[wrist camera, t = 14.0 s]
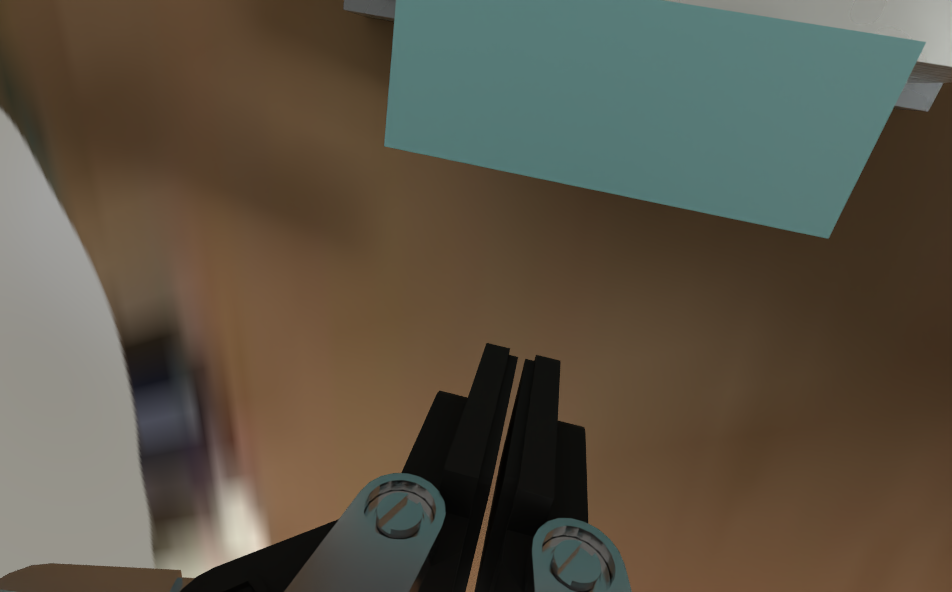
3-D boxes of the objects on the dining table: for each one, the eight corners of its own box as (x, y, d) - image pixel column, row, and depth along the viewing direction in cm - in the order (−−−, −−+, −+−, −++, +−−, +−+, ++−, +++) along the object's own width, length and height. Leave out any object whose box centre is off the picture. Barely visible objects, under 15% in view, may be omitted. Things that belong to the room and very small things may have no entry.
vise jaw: (975, -63, 11) (1371, -215, 5) (845, 201, 13) (1022, 279, 8) (381, -142, 12) (223, -319, 7) (365, 105, 15) (240, 116, 10)
